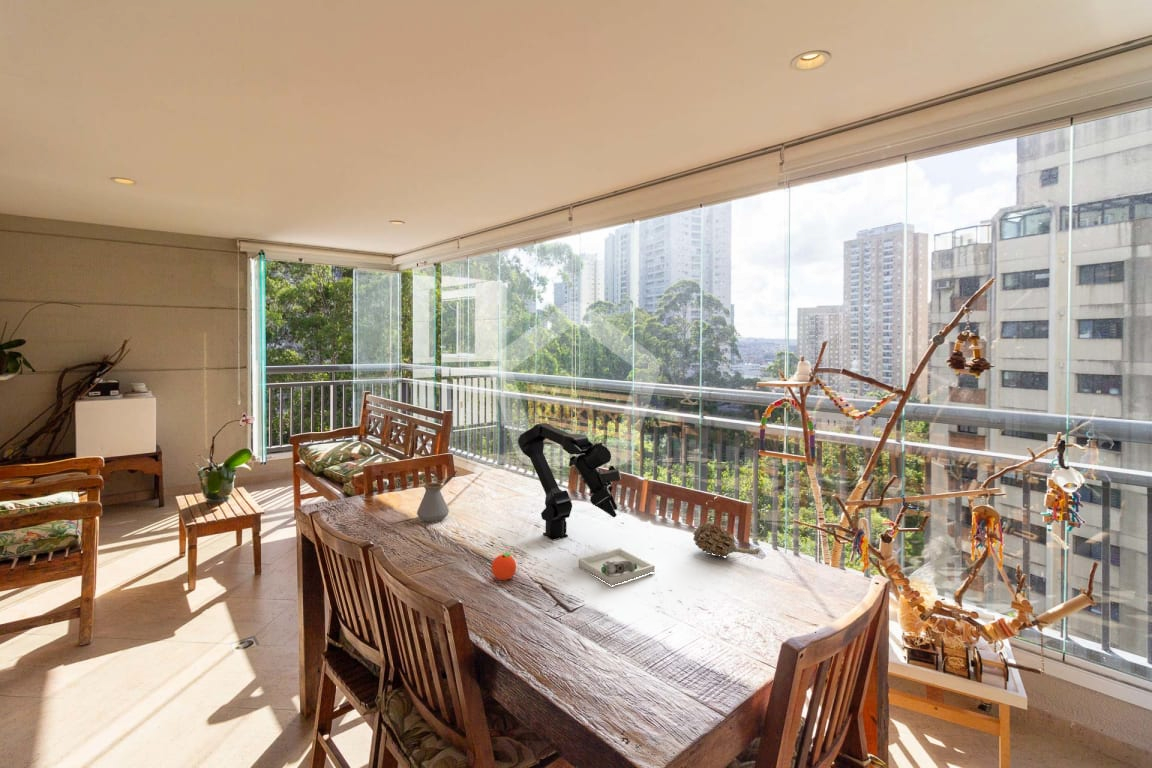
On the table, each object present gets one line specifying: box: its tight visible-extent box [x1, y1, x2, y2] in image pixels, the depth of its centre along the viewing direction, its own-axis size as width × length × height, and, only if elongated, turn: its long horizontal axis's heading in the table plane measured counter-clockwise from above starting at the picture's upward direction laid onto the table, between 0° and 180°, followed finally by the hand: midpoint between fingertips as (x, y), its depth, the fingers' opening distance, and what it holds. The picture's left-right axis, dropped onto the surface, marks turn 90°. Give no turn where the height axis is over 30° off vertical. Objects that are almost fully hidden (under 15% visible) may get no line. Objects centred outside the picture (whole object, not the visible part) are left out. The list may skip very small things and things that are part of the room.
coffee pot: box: [416, 470, 460, 523], centre depth 211 cm, size 21×12×15 cm, turn 157°
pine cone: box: [693, 522, 761, 557], centre depth 176 cm, size 22×10×10 cm, turn 56°
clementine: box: [491, 553, 517, 581], centre depth 159 cm, size 8×7×7 cm
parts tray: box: [577, 547, 655, 586], centre depth 166 cm, size 16×16×2 cm
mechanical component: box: [601, 561, 637, 575], centre depth 162 cm, size 3×10×10 cm
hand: (615, 512), depth 180 cm, fingers open, 9 cm apart
